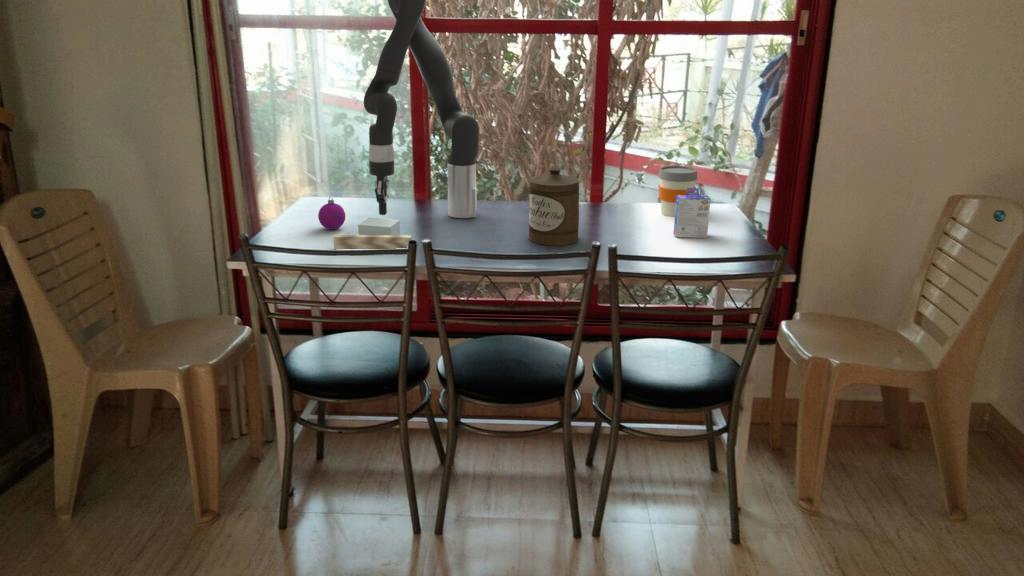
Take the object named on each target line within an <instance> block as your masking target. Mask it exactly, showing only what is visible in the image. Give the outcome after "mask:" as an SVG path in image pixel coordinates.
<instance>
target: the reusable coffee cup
mask: <svg viewBox="0 0 1024 576" xmlns="http://www.w3.org/2000/svg"><path fill="white" fill-rule="evenodd" d="M658 172H659V173H658V179H659V184H658V198H659V200H660V211H661V212H660V213H661V215H663V216H666V217H671V218H675V205H676V195H687V188H697V187H696V181H697V180H698V170H697V169H696V168H694V167H692V166H685V165H667V166H666V165H665V166H662V167H660V168H659V171H658ZM689 193H696V191H695V190H691V191H689Z"/></svg>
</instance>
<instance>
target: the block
mask: <svg viewBox="0 0 1024 576" xmlns="http://www.w3.org/2000/svg"><path fill="white" fill-rule="evenodd" d="M357 228H358V235H401V220H400V219H388V218H374V217H367V218H365V220H363V221H361V222H360V223H359V224H357Z"/></svg>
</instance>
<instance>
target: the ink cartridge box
mask: <svg viewBox="0 0 1024 576" xmlns="http://www.w3.org/2000/svg"><path fill="white" fill-rule="evenodd" d="M699 189H700V188H699V187H696V188H687V195H676V205H675V217H674V222H673V223H674V224H673V235H674V237H675V238H693V239H694V238H699V239H701V238H703V239H704V238H705V239H706V238H708V229H709V220H710V219H709V218H710V217H709V216H710V207H711V197H709V196H708V195H707V194H705V195H704V194H700V190H699ZM691 190H695V192H694V193H689V191H691Z"/></svg>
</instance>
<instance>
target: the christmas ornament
mask: <svg viewBox="0 0 1024 576" xmlns="http://www.w3.org/2000/svg"><path fill="white" fill-rule="evenodd" d="M317 217H318V220H319V224H320V225H321V226H323V228H326V229H328V230H336V229H339V228H340V227H342V226H343V224H345V221H346V213H345V210H344V208H343V207H342V206H341V205H340V204H338V203H335V200H334V198H333V197H329V199H328V200H327V203H326V204H323V205H322V206H321V207H320V209H319V210H318V214H317Z"/></svg>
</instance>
